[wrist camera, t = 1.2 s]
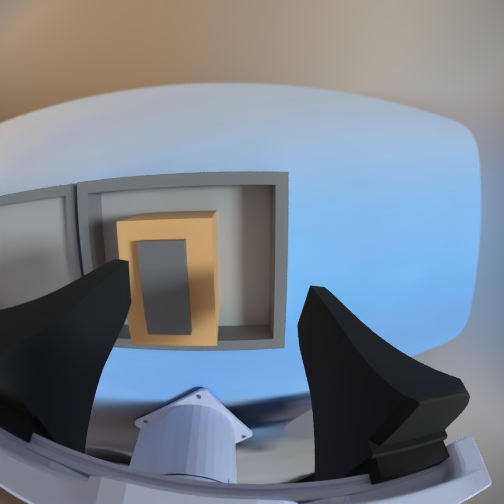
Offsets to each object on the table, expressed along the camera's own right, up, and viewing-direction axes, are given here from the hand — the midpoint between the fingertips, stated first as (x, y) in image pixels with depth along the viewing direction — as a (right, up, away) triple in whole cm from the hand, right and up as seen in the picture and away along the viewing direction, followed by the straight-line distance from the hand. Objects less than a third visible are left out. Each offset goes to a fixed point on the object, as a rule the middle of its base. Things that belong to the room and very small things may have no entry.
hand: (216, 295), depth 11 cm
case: (-4, +1, +10) cm, 11 cm away
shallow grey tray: (-18, +1, +9) cm, 21 cm away
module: (-4, +1, +9) cm, 10 cm away
